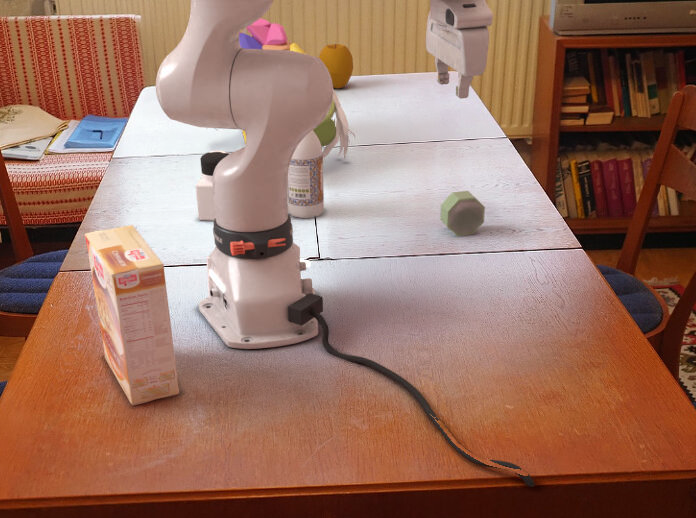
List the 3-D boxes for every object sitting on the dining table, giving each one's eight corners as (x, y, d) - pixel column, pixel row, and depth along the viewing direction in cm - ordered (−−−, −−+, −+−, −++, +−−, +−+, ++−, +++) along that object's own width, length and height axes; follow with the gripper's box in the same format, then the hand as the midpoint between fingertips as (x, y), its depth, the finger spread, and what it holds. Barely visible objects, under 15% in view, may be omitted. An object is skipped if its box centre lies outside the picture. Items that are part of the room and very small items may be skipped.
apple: (315, 92, 262) (314, 47, 256) (320, 83, 270) (319, 39, 264) (351, 92, 260) (350, 47, 254) (355, 83, 268) (355, 39, 262)
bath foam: (325, 218, 185) (322, 112, 174) (288, 219, 184) (284, 114, 174) (322, 205, 190) (320, 102, 180) (287, 206, 190) (283, 104, 180)
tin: (483, 233, 175) (485, 196, 172) (446, 237, 174) (448, 200, 171) (476, 225, 178) (478, 189, 175) (439, 230, 177) (441, 193, 174)
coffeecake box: (103, 357, 142) (82, 232, 131) (150, 347, 144) (134, 223, 134) (130, 407, 130) (110, 273, 119) (181, 394, 132) (165, 262, 122)
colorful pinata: (335, 98, 189) (249, -16, 202) (231, 200, 199) (155, 84, 212) (399, 149, 217) (320, 46, 229) (304, 236, 227) (233, 132, 239)
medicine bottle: (234, 222, 185) (229, 160, 178) (198, 220, 186) (192, 159, 180) (243, 208, 191) (239, 148, 184) (208, 207, 192) (203, 147, 186)
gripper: (418, -3, 171) (416, 77, 178) (459, 20, 154) (455, 107, 161) (452, -6, 172) (448, 74, 179) (497, 16, 155) (491, 103, 162)
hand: (452, 90), depth 170 cm, fingers open, 8 cm apart
